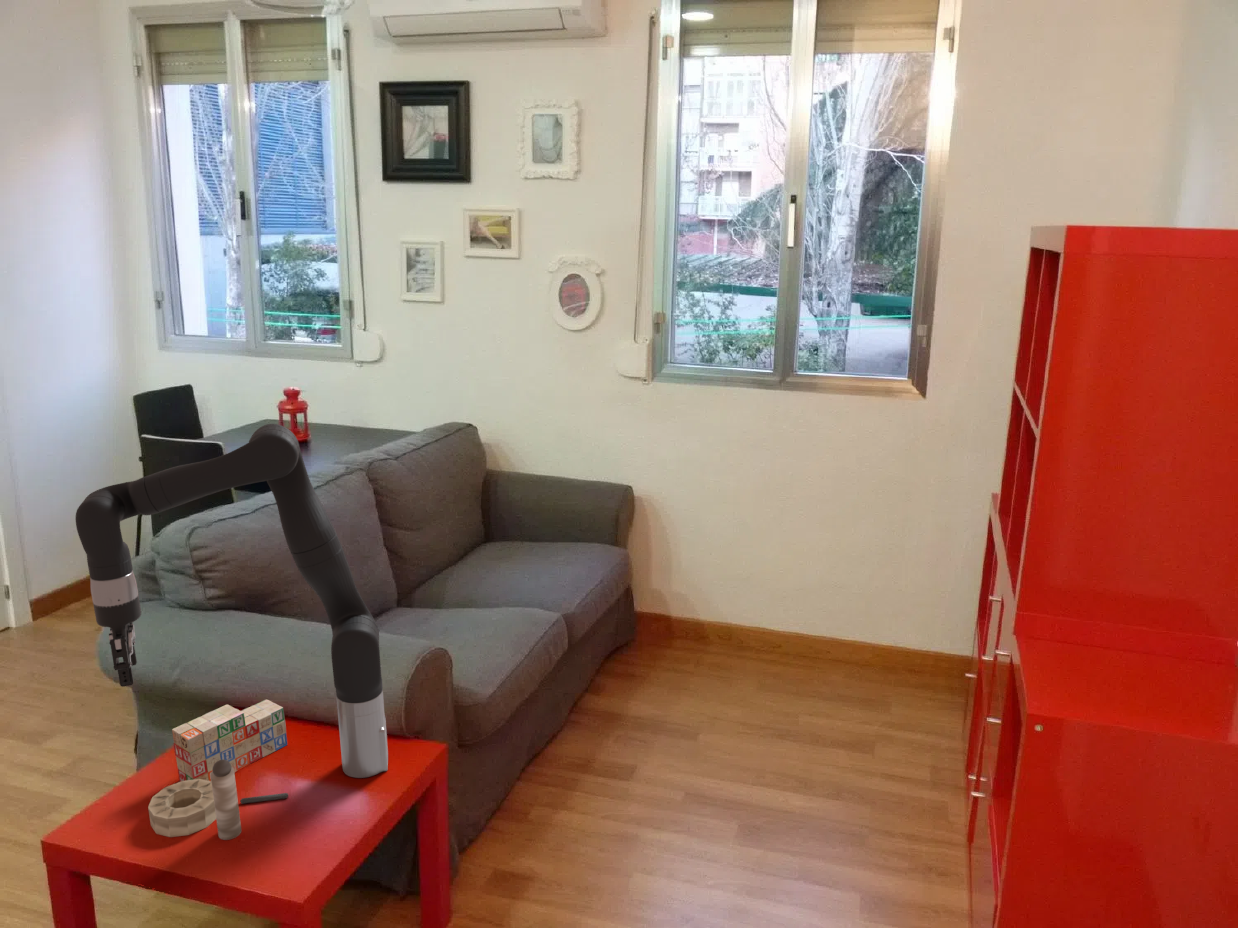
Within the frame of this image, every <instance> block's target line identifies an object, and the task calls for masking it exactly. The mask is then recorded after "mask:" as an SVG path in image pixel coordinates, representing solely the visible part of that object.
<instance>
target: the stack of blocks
mask: <svg viewBox="0 0 1238 928" xmlns="http://www.w3.org/2000/svg"><path fill="white" fill-rule="evenodd" d="M171 732H172V739H173V749H174V755H175V759H176V760H175V761H176V765H177V773H178V780H179V781H178V782H181V781H186V780H195V779H202V780H207V781H211V773H212V771H213V770H212V769H213V766H214V764H215V763H216V762H217V761H219V760H227V761H229V762H230V764H231V767H233V768H234V773H236V772H237V771H239V770H241V769H243V768H245V767H248V766H250V765H252V763H255V762H256V761H259V760H261V759H262V758H264V757H266V756H268V755H270V754H273V753H274V752H276V751H278V750H280V749H283V748H284V747H286V746H288V737H287V726H286V719H285V711H284V707H283V706H281V705H279V704H277V703H275V702H273V701H271V700H269V699H264V700H262V701H260V702H258V703H256V704H254V705H253V704H252V705H251V706H250V707H246V708H244V709H242V710H239V709H238V708H235V707H233V706H232V705H229V704H225V705H223V706H220V707H219V708H216V709H214V710H211V711H209V712H206V713H205V714H203V715H202V716H198V717H197V718H194V719H192V720H190V721H188V722H185V723H183V724H181V725H178V726H177V727H174V728H172V729H171Z"/></svg>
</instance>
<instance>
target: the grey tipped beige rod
mask: <svg viewBox="0 0 1238 928" xmlns="http://www.w3.org/2000/svg"><path fill="white" fill-rule="evenodd" d="M212 770H213V771H212V773H211V782H212V789H213V797H214V805H215V813H216V820H215V821H216V826H217V827H216V828H217V835H218V838H219V839H220V840H224V841H228V840H229V841H230V840H232V839H235V838H237V837H238V836H240V835H241V833H242V824H241V818H240V816H241V815H240V808H239V799H238V791H237V790H238V789H237V783H236V776H235V775H236V774H235V773H236V772H234V768H233V767H231V764H230V762H229V761H227V760H219V761H217V762H216V763H215V764H214V766H213V769H212Z"/></svg>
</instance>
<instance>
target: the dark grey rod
mask: <svg viewBox="0 0 1238 928" xmlns="http://www.w3.org/2000/svg"><path fill="white" fill-rule="evenodd" d="M287 798H289V794H288V792H283V793H275V794H267V795H259V796H250V797H243V798H241V799H240V800H239V801H240V804H242V805H243V804H250V803H252V804H253V803H259V802H266V801H274V800H275V801H276V800H282V799H287Z"/></svg>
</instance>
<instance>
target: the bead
mask: <svg viewBox="0 0 1238 928" xmlns="http://www.w3.org/2000/svg"><path fill="white" fill-rule="evenodd" d="M147 808H148V809H147V810H148V815H149V821H150V822H149V824H150V827H151V828H152V829H153V831H154V832H155V834H156V835H160V836H164V837H167V838H174V837H176V838H177V837H181V836H183V837H184V836H190V835H192V834H194V833H197V832H199V831H201V830H204V829H206V828H208V827H209V826H210V825H211V824H212V823H213V822H215V821H217V820H216V813H215V805H214V797H213V789H212V782H211V781H207V780H202V779H195V780H186V781H181V782H180V781H178V782H176V783H175V782H174V783H173V784H171V785H167V786H165V787H164V788H162V789H161V790H160V791H158V792H157V793H156V794H155V795H153V796H152V798H151V799H150V802H149V804H148V807H147Z"/></svg>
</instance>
